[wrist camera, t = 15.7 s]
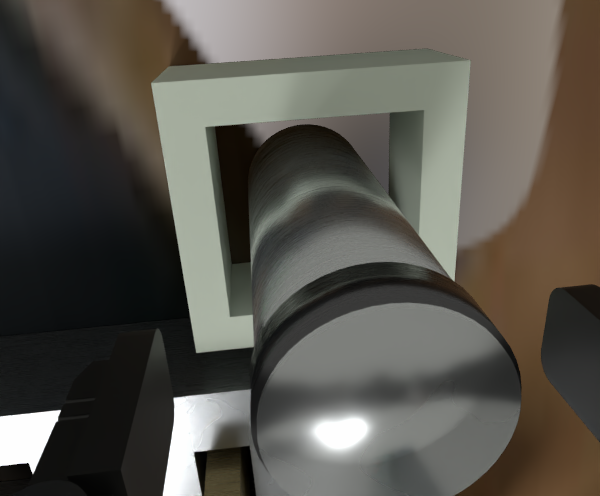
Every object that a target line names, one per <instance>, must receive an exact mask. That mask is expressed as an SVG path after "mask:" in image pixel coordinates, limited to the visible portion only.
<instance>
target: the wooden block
mask: <svg viewBox="0 0 600 496" xmlns="http://www.w3.org/2000/svg"><path fill="white" fill-rule="evenodd" d="M204 496H250V470H249V447H248V446H242V447H234V448H225V449H217V450H208V451H207V464H206V478H205V491H204Z"/></svg>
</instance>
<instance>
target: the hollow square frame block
mask: <svg viewBox="0 0 600 496" xmlns="http://www.w3.org/2000/svg"><path fill="white" fill-rule="evenodd" d="M470 65H471V60H468V59H464V58H460V57H457V56H453V55H449V54H445V53H442V52H438V51H434V50H431V49H414V50H399V51H386V52H385V51H384V52H370V53H355V54H341V55H327V56H314V57H313V56H312V57H298V58H284V59H269V60H256V61H241V62H226V63H211V64H197V65H183V66H169V67H168V68H167V69H166V70H165V71H164V72H162V73H161V74H160V75H159V76H158V77H157V78H156V79H155V80H154V81H153V82H152V83H151V85H152V91H153V97H154V103H155V109H156V115H157V121H158V127H159V133H160V139H161V145H162V151H163V157H164V163H165V169H166V175H167V181H168V187H169V193H170V199H171V205H172V211H173V217H174V222H175V228H176V234H177V240H178V246H179V252H180V258H181V264H182V270H183V276H184V282H185V288H186V294H187V300H188V306H189V312H190V318H191V324H192V330H193V336H194V342H195V348H196V353H201V352H211V351H220V350H230V349H239V348H249V347H254V336H253V308H252V281H251V262H249V263H239V264H232V262H231V254H230V246H229V238H228V229H227V221H226V213H225V205H224V197H223V189H222V181H221V172H220V164H219V156H218V148H217V140H216V132H215V126H223V125H236V124H249V123H261V122H275V121H288V120H301V119H314V118H327V117H340V116H353V115H366V114H378V113H390V140H389V196H390V198H391V199H392V200H393V202H394V203H395V204H396V206H397V207H398V208H399V210H400V211H401V212H402V214H403V215H404V216H405V218H406V219H407V220H408V222H409V223H410V224H411V226H412V227H413V228H414V230H415V231H416V232H417V234H418V235H419V236H420V238H421V239H422V240H423V242H424V243H425V244H426V246H427V247H428V248H429V250H430V251H431V252H432V254H433V255H434V256H435V258H436V259H437V260H438V262H439V263H440V264H441V266H442V267H443V268H444V270H445V271H446V272H447V274H448V275H449V276H450V278H451V279H452V280H453V281H454V279H455V265H456V252H457V239H458V225H459V212H460V198H461V185H462V172H463V159H464V144H465V132H466V118H467V105H468V92H469V79H470Z"/></svg>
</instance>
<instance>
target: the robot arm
mask: <svg viewBox="0 0 600 496" xmlns="http://www.w3.org/2000/svg"><path fill="white" fill-rule="evenodd" d="M541 361H542V366H543V369H544V372H545V374H546V376H547V378H548V380H549V381H550V383H551V384H552V385H553V386H554V387H555V389H556V390H557V391H558V392H559V393H560V395H561V396H562V397H563V398H564V400H565V401H566V402H567V403H568V404H569V406H570V407H571V408H572V409H573V410H574V412H575V413H576V414H577V415H578V417H579V418H580V419H581V420H582V421H583V423H584V424H585V425H586V426H587V427H588V429H589V430H590V431H591V432H592V434H593V435H594V436H595V437H596V438H597V440H598V441H599V442H600V287H598V286H596V285H592V284H591V285H581V286H572V287H562V288H556V289H554V290H553V291H552V293H551V295H550V298H549V304H548V310H547V316H546V323H545V329H544V335H543V342H542V348H541ZM65 401H66V403H65V404H63V406H62V409H61V411H60V413H59V416H58V421H56V423H55V425H54V427H53V429H52V432H51V434H50V436H49V439H48V441H47V443H46V446H45V448H44V450H43V452H42V455H41V457H40V459H39V462H38V464H37V466H36V469H35V471H34V473H33V475H32V478H31V480H30V482H29V485H28V487H26V488H24V489H22V490H20V491H18V492H16V493H14V494H13V495H11V496H163V492H164V485H165V478H166V472H167V465H168V459H169V452H170V446H171V439H172V432H173V426H174V396H173V390H172V384H171V379H170V374H169V369H168V364H167V359H166V354H165V348H164V343H163V338H162V335H161V332H160V330H159V329H149V330H140V331H130V332H121V333H119V335H118V337H117V339H116V342H115V345H114V348H113V350H112V353H111V356H110V359H109V360H99V361H93V362H92V363H91V364H89V365H88V366H87V367H86V368H85V369H84V370H83V371H82V372H81V373H80V374H79V375H78V376H77V377H76V378H75V379H74V381H73V383H72V386H71V388H70V390H69V393H68V395H67V397H66V400H65Z"/></svg>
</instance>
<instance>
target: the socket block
mask: <svg viewBox="0 0 600 496" xmlns="http://www.w3.org/2000/svg"><path fill="white" fill-rule="evenodd" d="M149 329H159V330H160V332H161V335H162V338H163V343H164V348H165V354H166V359H167V364H168V369H169V374H170V379H171V384H172V390H173V396H174V426H173V432H172V439H171V446H170V452H169V459H168V465H167V472H166V478H165V485H164V492H163V496H204V491H205V478H206V464H207V451H208V450H217V449H225V448H234V447H242V446H250V447H249V470H250V496H290V495H289V494H288V493H287V492H286V491H285V490H283V489H282V488H281V487H280V486H279V485H278V483H277V482H276V481H275V480H274V479H273V478H272V476H271V475H270V474H269V473H268V472H267V470H266V469H265V467H264V466H263V464H262V462H261V461H260V459H259V457H258V455H257V452H256V450H255V447H254V444H253V439H252V434H251V419H250V375H249V371H250V363H251V357H252V353H253V350H254V347H249V348H239V349H230V350H220V351H211V352H201V353H196V348H195V342H194V336H193V330H192V324H191V318H181V319H171V320H161V321H151V322H141V323H131V324H121V325H111V326H101V327H91V328H81V329H71V330H61V331H51V332H41V333H31V334H21V335H11V336H1V337H0V466H3V465H12V464H21V463H29V465H30V468H31V471H32V473H34V471H35V469H36V466H37V464H38V462H39V459H40V457H41V455H42V452H43V450H44V448H45V446H46V443H47V441H48V439H49V436H50V434H51V432H52V429H53V427H54V425H55V423H56V421H58V416H59V413H60V411H61V409H62V406H63V404H65V403H66V401H65V400H66V397H67V395H68V393H69V390H70V388H71V386H72V383H73V381H74V379H75V378H76V377H77V376H78V375H79V374H80V373H81V372H82V371H83V370H84V369H85V368H86V367H87V366H88V365H89V364H91V363H92V362H93V361H99V360H109V359H110V356H111V353H112V350H113V348H114V345H115V342H116V339H117V337H118V335H119V333H121V332H130V331H140V330H149ZM30 480H31V479H22V480H14V481H5V482H0V496H11V495H13V494H14V493H16V492H18V491H20V490H22V489H24V488H26V487H28V485H29V482H30Z"/></svg>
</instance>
